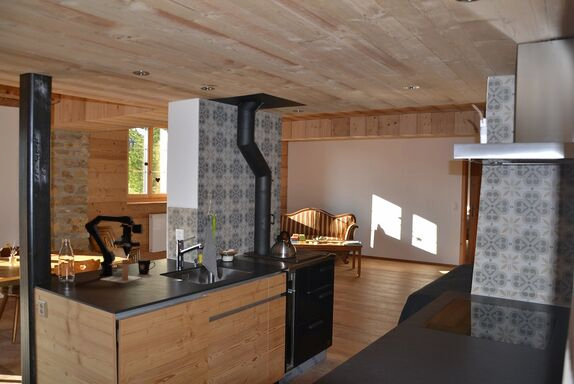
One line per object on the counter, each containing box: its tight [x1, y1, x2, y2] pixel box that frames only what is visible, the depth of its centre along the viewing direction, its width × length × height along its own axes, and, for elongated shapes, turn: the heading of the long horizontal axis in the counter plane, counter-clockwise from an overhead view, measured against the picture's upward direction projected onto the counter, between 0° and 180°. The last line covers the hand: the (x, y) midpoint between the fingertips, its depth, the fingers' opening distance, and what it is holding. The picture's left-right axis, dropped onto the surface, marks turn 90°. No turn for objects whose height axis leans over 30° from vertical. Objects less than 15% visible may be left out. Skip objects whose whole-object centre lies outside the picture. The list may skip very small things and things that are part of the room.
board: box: [100, 271, 143, 284], centre depth 310 cm, size 20×17×3 cm
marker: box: [121, 259, 130, 281], centre depth 303 cm, size 4×4×13 cm
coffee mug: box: [137, 258, 156, 276], centre depth 329 cm, size 12×9×10 cm
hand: (126, 255), depth 325 cm, fingers closed
